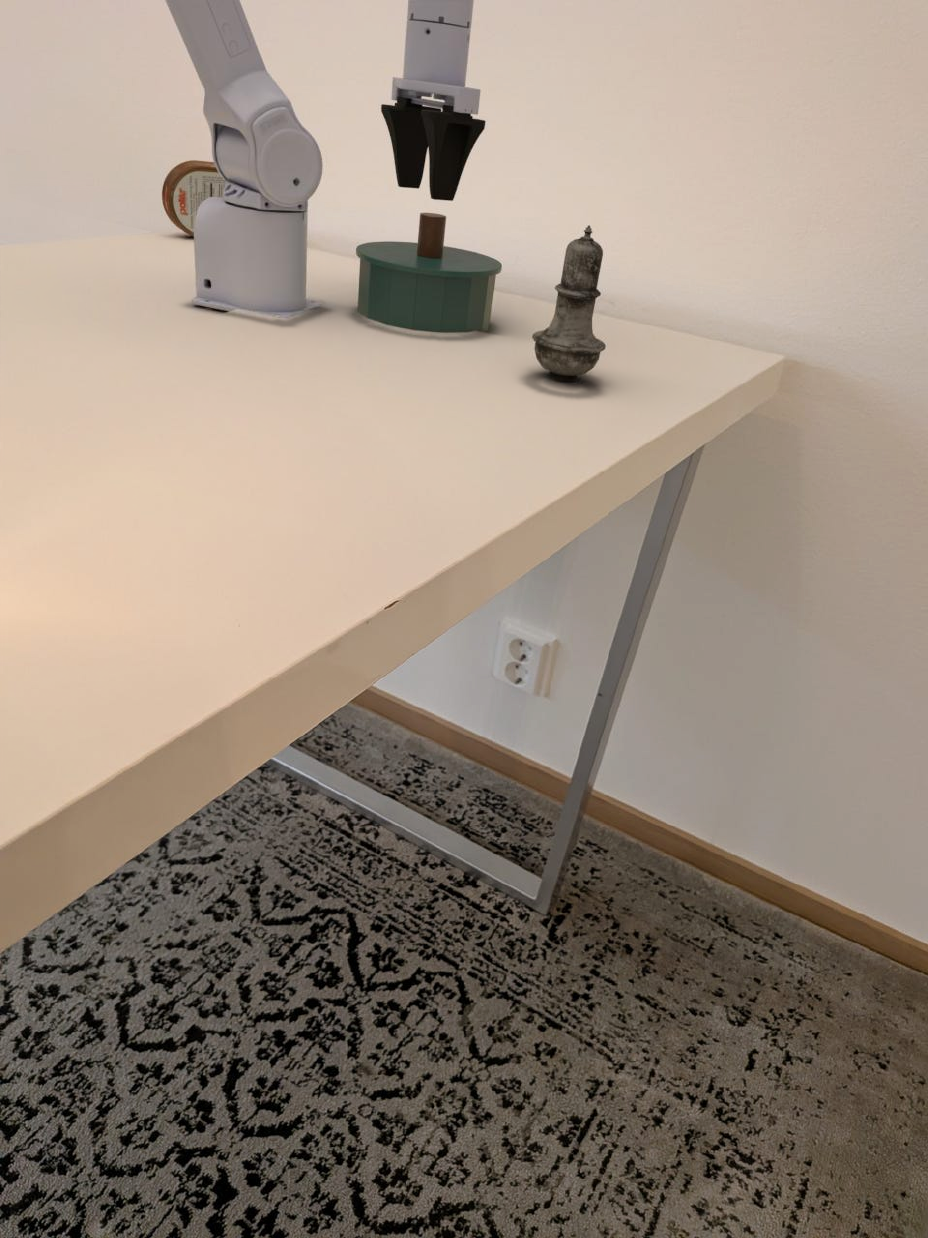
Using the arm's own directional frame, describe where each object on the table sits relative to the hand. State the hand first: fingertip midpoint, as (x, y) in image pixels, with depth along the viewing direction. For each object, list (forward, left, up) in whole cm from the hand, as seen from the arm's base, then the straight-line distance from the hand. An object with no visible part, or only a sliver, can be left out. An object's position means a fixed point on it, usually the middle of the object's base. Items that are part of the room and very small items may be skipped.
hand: (424, 193), depth 85 cm
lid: (+3, -6, -5) cm, 8 cm away
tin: (-31, +16, -11) cm, 36 cm away
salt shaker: (+19, -18, -11) cm, 29 cm away
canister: (+3, -6, -10) cm, 12 cm away
